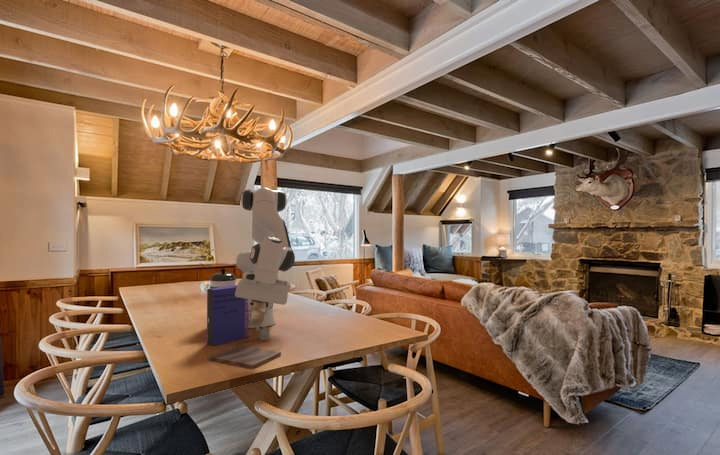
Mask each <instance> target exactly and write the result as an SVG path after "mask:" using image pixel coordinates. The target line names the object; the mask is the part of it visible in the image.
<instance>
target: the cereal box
mask: <svg viewBox="0 0 720 455" xmlns="http://www.w3.org/2000/svg"><path fill="white" fill-rule="evenodd" d="M237 285H238V284H235V286H227V287H219V288H210V287H209V288H207V289H206V293H207V294H206V345H208V346H210V347H216V346H219V345H224V344H228V343H231V342H235V341H240V340H244V339H247V338H249V328H248V299H244V298H238V297H236V296H235V291H236V288H237Z"/></svg>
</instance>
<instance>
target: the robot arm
mask: <svg viewBox="0 0 720 455" xmlns="http://www.w3.org/2000/svg"><path fill="white" fill-rule="evenodd" d="M240 202H241V207H242V208H243V209H244V210H246V211H251V212H252V214H251V216H252V219H251V220H252V221H251V238H252V240H253V241H254V242H256V244H254V245H253V246H252V247H251V249H248V250H243V251H240V252H239V253H238V254H237V255H236V256H237V257H236V258H235V261H236V266H237V268H238V269H239V270H241V272H243V273H242V275H241V276H242V278H241V279H239V281H238V283H237V284H236V285H237V288H236V291H235V296H236V297H238V298H244V299H248V329H254V328H255V326H254V325H253V324H250V319H251V313H252V309H253V304H254V301H255V300H257V301H263V302H266V307H265V314H264V320H263V323H262V326H260V325H258V326H259V328H263V327H271V326H274V325H275V324H276V321H275V314H274V308H273V307H274V304H277V305H283V306H284V305H286V304H287V302H288V297H289V294H288V293H289V292H290V291H291V284H290V282H288V280H287V281H286V280H280V279H278V276H279V273H280V271H281V272H287V271H289V270H290V269H291V268H292V267H294V265H295V260H296V256H295V252H294V250H293V248H292V245H291V241H290V236H289V232H288V228H287V225H286V222H285V220H284V219H283V218H282V217H281V216H280V213H279V212H282V211H283V210H285V209H286V208H287V207H286V206H287V203H288V199H287V196H286V193H285V192H284V191H282V190H273V189H270V188H268V187H260V188H258V189H249V188H248V189H245V190H244V191H242V195H241V196H240ZM255 329H256V328H255Z"/></svg>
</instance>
